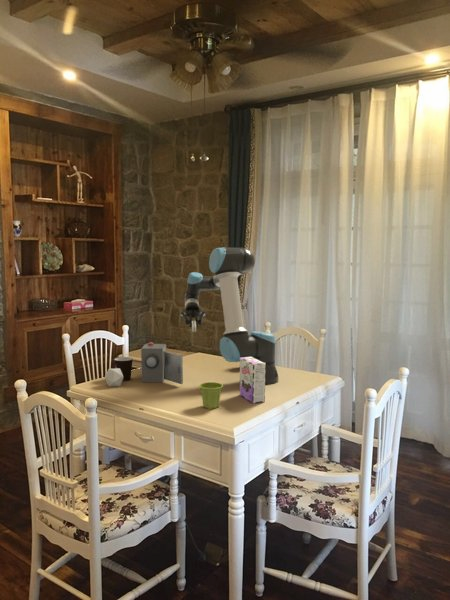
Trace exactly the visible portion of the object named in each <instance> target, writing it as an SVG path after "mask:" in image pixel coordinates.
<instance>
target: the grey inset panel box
mask: <svg viewBox="0 0 450 600" xmlns="http://www.w3.org/2000/svg"><path fill="white" fill-rule="evenodd" d="M164 351H166V352H167V344H166V343H154V342H151V341H150V342H148V343H144V345H143V346H142V347H141V349H140V355H141V356H140V357H141V368H140V369H141V383H163V382H164V381H165V379H164V359H163V352H164Z"/></svg>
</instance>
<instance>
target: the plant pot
mask: <svg viewBox="0 0 450 600" xmlns="http://www.w3.org/2000/svg"><path fill="white" fill-rule="evenodd" d="M198 386H199V389H200V393H201V400H202V405H203V408H205V409H208V410H211V409H216V408H219V405H220V400H221V393H222V389H223V387H224V384H223V383H221V382H217V381H216V382H213V381H212V382H211V381H210V382H203V383H200V384H199V385H198Z"/></svg>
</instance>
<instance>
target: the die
mask: <svg viewBox="0 0 450 600" xmlns="http://www.w3.org/2000/svg"><path fill="white" fill-rule="evenodd" d="M104 378H105V382H106V384H107V387H109V388H115V387H121V385H122V383H123V381H122V380H123V378H124V377H123V374H122V372H121V370H120V368H108V369H107V371H106V374H105V375H104Z"/></svg>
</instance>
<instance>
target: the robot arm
mask: <svg viewBox="0 0 450 600" xmlns="http://www.w3.org/2000/svg"><path fill="white" fill-rule="evenodd" d="M255 264H256V257H255V255H254V253H253V252H252V251H251V250H249V249H247V248H245V247H225V246H223V247H216V248H214V249H213V250H212V251H211V253H210V256H209V259H208V267H209V270H210V272H211V273H214V275H213V276H203V274H202V273H200V272H196V271H193V272H190V273H189V274H188V276H187V277H188V278H187V282H186V291H185V294H184V298H183V300H184V309H185V310H184V311H181V312H180V318H182V320H183V321H184V323H185V325H188V326H189V328H191V331H192V333H194V332H195V333H196V332H197V328H199V325H202V323H203V320H204V318H205V317H206V311H201V310H200V304H199V301H200V300H199V299H200V293H201V291H220V295H221V305H222V310H223V319H224V327H225V330H224V332H223V333H222V336H223V337H222V338H220V341H219V351H220V354H221V356H222V358H223V359H224V360H225V361H226V362H228V363H240V358H241V357H253V358H255V359H257V360H259V361H261V362H263V363H266V367H265V385H268V384H269V385H273V384H275V383H278V382H279V374H278V370H277V367H276V344H277V343H276V336H275V335H274V334H273V333H271V332H264V331H255V330H254V331H253V330H252V331H251V332H250V333H249V331H248V330H247V329H246V328H245V325H244V317H243V311H242V304H241V303H242V301H241V296H240V289H239V287H240V286H239V281H238V278H239V276H241V275H245V274H248V273H249V272H251V271H252V270H253V269H254V267H255ZM198 317H199V318H198ZM192 319H193V320H192ZM249 334H250V335H249Z"/></svg>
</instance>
